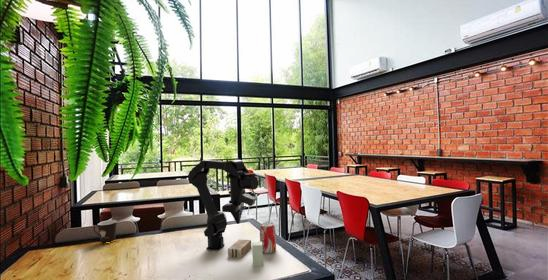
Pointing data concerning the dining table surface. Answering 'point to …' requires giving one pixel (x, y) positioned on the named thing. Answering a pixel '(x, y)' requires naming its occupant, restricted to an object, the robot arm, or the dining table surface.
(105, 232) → the coffee mug
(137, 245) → the dining table surface
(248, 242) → the walnut block
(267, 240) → the soda can
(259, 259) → the sage block
